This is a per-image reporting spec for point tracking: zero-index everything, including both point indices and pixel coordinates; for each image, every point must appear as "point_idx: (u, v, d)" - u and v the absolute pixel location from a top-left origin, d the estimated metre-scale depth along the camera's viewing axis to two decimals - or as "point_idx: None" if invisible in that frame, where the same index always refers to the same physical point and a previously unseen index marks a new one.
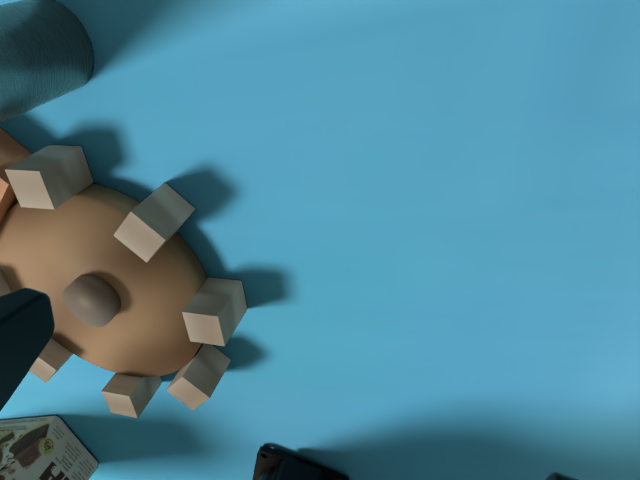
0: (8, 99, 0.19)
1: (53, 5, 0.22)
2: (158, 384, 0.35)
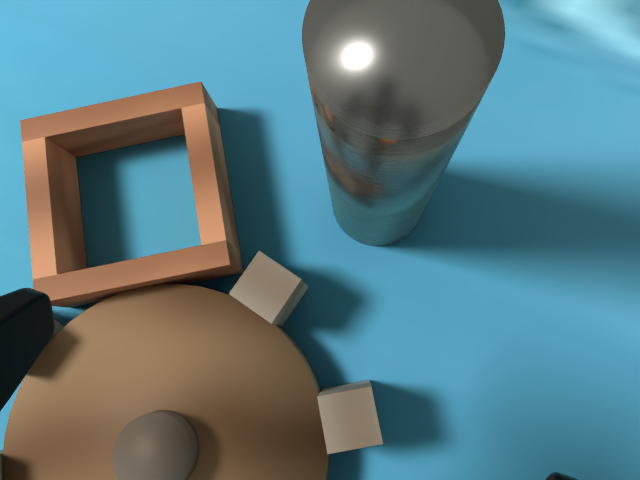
0: (414, 210, 0.18)
1: None
2: None
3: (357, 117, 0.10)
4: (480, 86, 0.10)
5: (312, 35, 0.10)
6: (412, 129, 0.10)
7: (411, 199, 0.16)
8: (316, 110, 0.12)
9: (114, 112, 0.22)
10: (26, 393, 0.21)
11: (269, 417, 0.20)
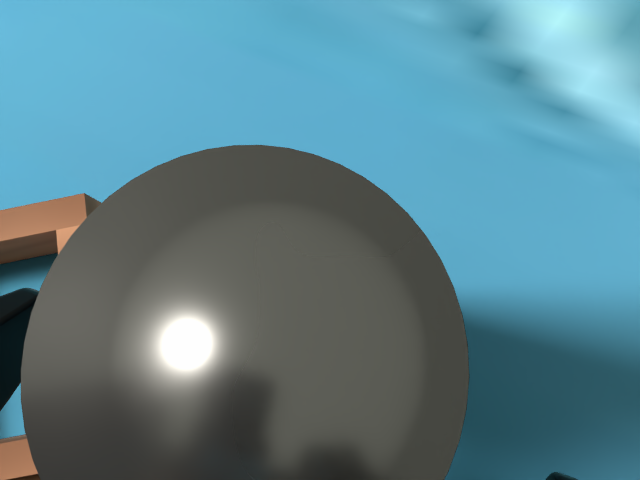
0: None
1: None
2: None
3: None
4: None
5: (45, 357, 0.05)
6: None
7: None
8: None
9: None
10: None
11: None
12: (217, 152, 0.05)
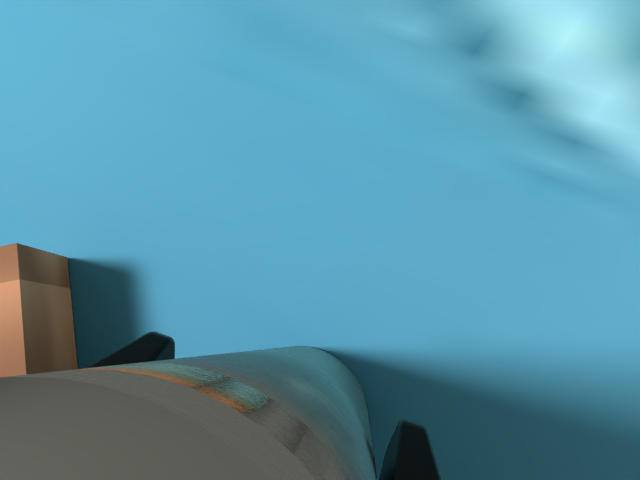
0: None
1: None
2: None
3: None
4: None
5: None
6: None
7: None
8: None
9: None
10: None
11: None
12: None
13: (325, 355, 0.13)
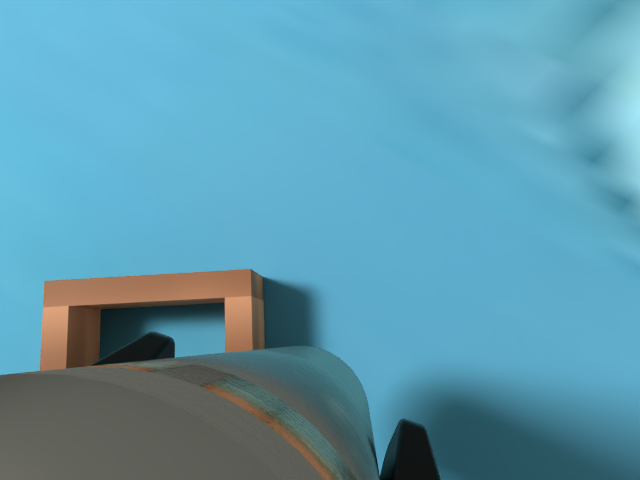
0: None
1: (362, 387, 0.15)
2: None
3: None
4: None
5: None
6: None
7: None
8: None
9: (149, 289, 0.19)
10: None
11: None
12: None
13: (326, 354, 0.13)
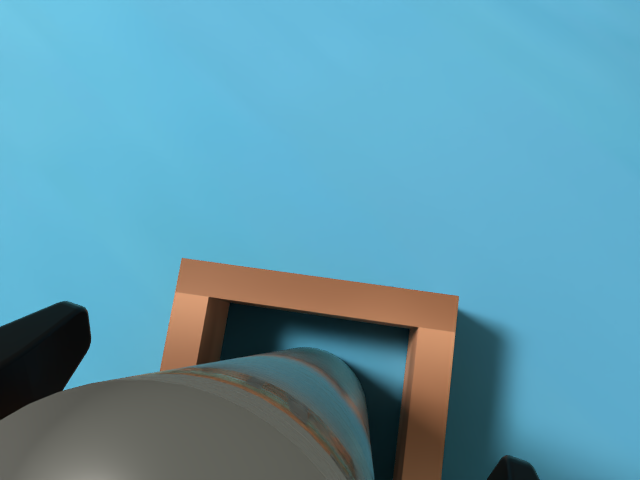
0: None
1: (360, 385, 0.16)
2: None
3: None
4: None
5: None
6: None
7: None
8: None
9: (318, 296, 0.15)
10: None
11: None
12: None
13: (328, 356, 0.15)
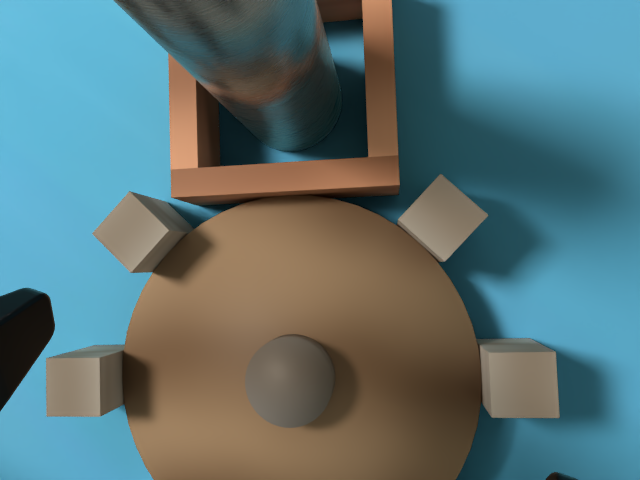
0: (302, 95, 0.15)
1: None
2: None
3: None
4: None
5: None
6: None
7: (278, 77, 0.13)
8: None
9: None
10: (152, 292, 0.19)
11: (417, 362, 0.18)
12: None
13: None
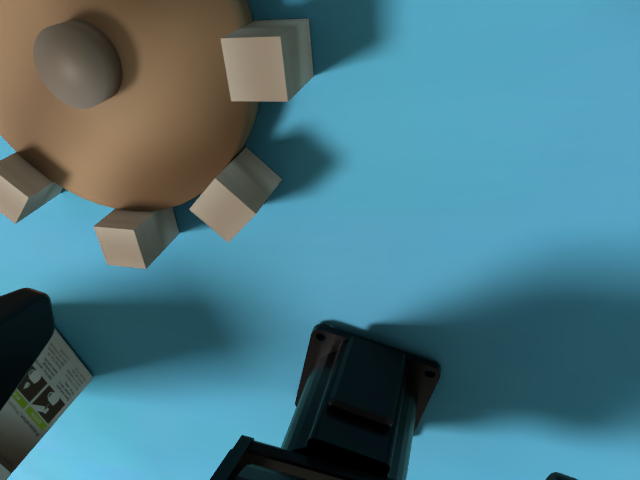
0: None
1: None
2: (174, 233, 0.25)
3: None
4: None
5: None
6: None
7: None
8: None
9: None
10: None
11: None
12: None
13: None
